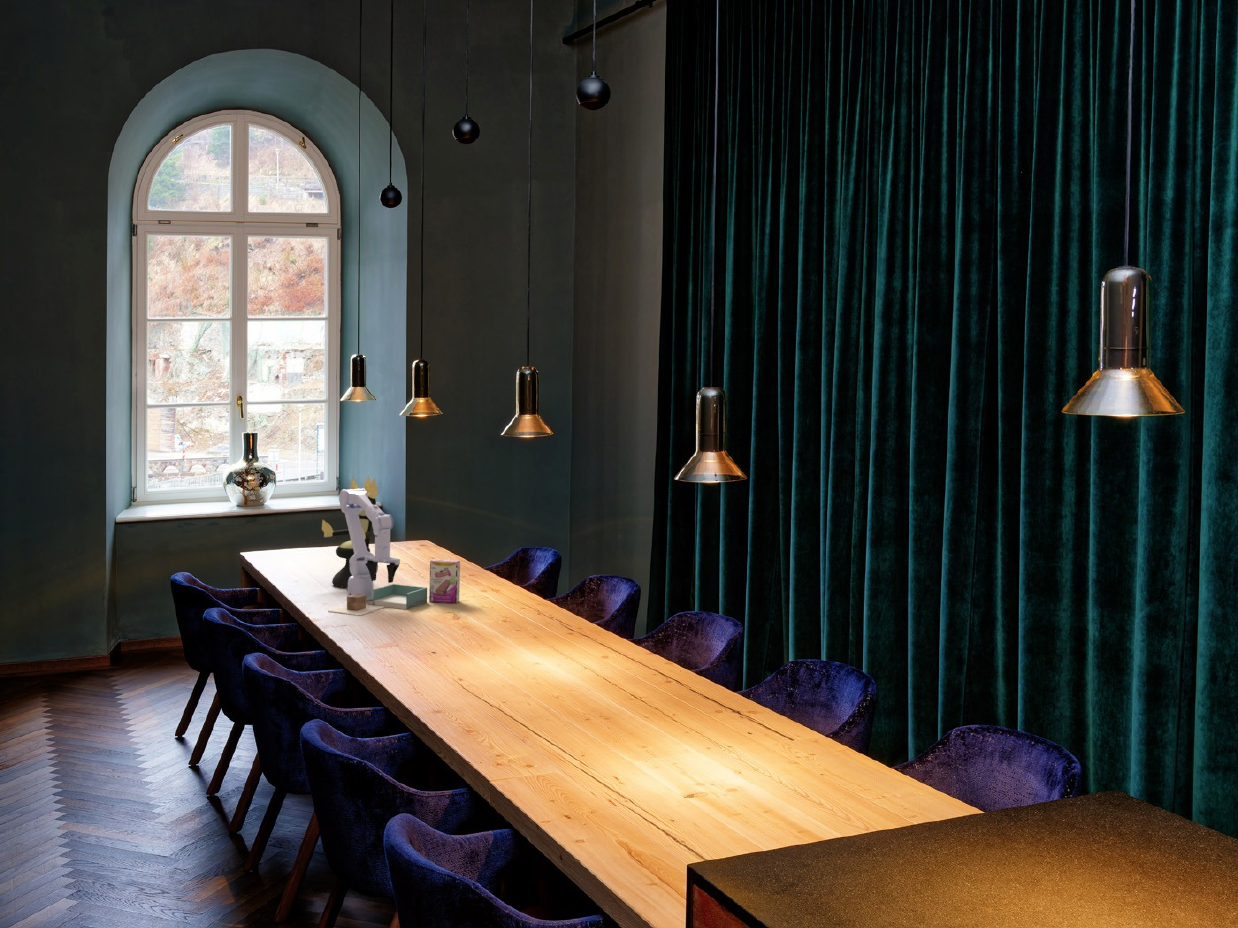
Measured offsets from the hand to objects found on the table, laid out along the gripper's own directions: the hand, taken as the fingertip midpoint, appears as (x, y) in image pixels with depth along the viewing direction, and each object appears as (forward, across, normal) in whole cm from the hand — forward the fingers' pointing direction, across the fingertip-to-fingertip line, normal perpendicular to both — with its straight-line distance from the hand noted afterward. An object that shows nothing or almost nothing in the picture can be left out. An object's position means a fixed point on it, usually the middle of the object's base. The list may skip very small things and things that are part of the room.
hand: (382, 581), depth 457 cm
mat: (+9, -4, -11) cm, 15 cm away
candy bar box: (+10, +17, +18) cm, 27 cm away
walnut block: (+9, -4, -11) cm, 15 cm away
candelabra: (+10, -33, +30) cm, 46 cm away
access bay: (+9, +4, +6) cm, 12 cm away
